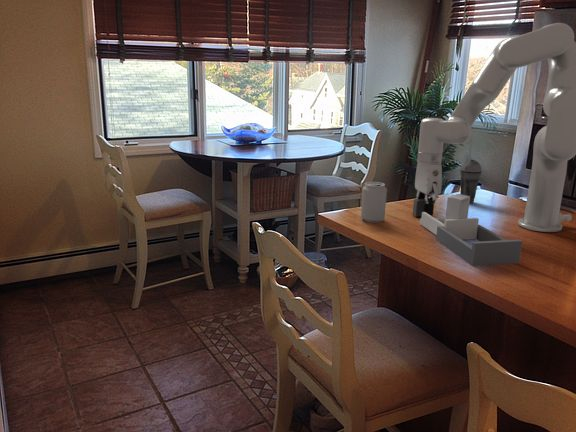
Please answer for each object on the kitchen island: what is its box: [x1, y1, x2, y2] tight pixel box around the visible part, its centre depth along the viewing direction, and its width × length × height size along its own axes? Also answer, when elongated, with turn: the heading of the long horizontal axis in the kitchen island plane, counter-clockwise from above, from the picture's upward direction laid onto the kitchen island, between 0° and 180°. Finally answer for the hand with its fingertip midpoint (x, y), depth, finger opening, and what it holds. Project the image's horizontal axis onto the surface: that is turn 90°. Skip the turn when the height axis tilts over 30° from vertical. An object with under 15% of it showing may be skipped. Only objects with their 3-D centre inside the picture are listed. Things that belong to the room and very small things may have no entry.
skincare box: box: [445, 193, 470, 219], centre depth 154 cm, size 6×4×12 cm
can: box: [360, 181, 388, 224], centre depth 168 cm, size 8×8×12 cm
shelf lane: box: [435, 224, 523, 267], centre depth 143 cm, size 13×20×6 cm, turn 11°
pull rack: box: [412, 198, 480, 241], centre depth 163 cm, size 10×26×6 cm, turn 11°
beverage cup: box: [459, 146, 482, 205], centre depth 190 cm, size 7×7×20 cm
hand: (424, 212), depth 173 cm, fingers closed on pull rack, 4 cm apart
